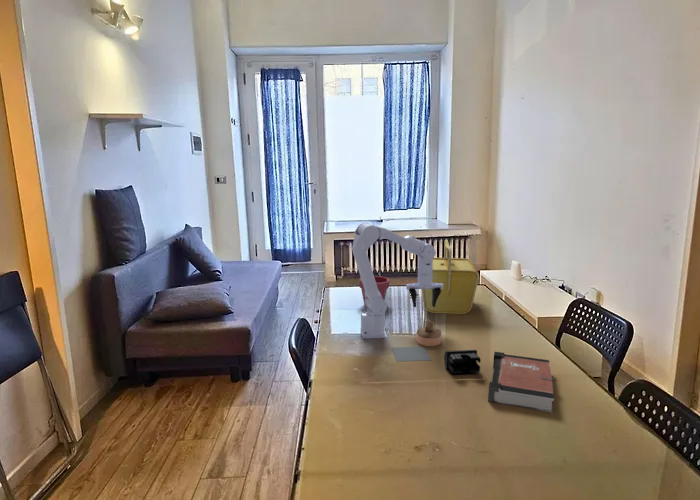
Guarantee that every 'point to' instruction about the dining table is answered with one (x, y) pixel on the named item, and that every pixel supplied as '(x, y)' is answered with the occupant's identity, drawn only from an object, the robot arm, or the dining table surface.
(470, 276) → the picnic basket
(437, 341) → the bowl
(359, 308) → the dining table surface
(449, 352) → the end cap
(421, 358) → the mat
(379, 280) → the plant pot
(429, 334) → the lid
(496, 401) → the book
